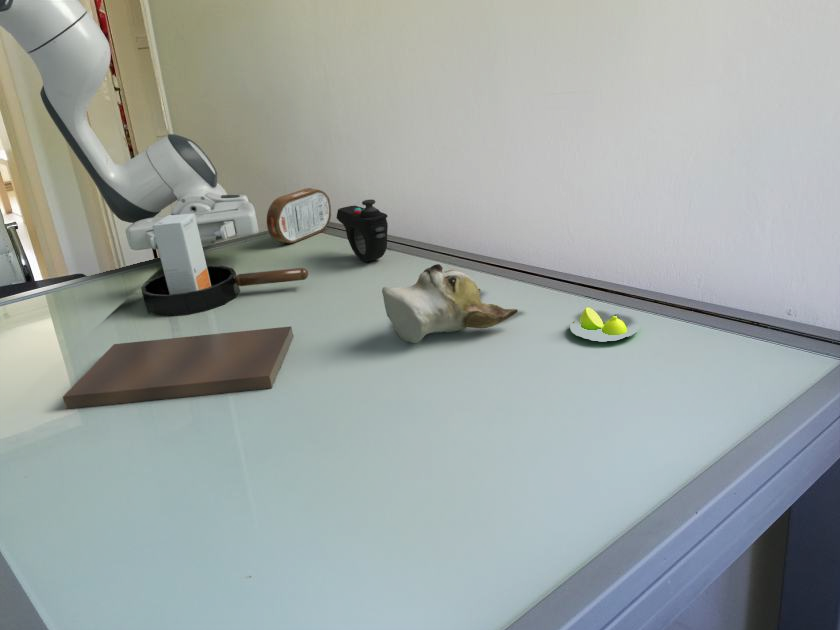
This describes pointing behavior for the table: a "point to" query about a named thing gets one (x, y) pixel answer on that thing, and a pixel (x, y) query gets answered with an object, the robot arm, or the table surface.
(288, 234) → the tin
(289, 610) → the table surface
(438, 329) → the ceramic sculpture
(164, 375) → the cutting board
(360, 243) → the controller
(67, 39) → the robot arm
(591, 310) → the lemon
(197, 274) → the cosmetic box
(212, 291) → the pan
